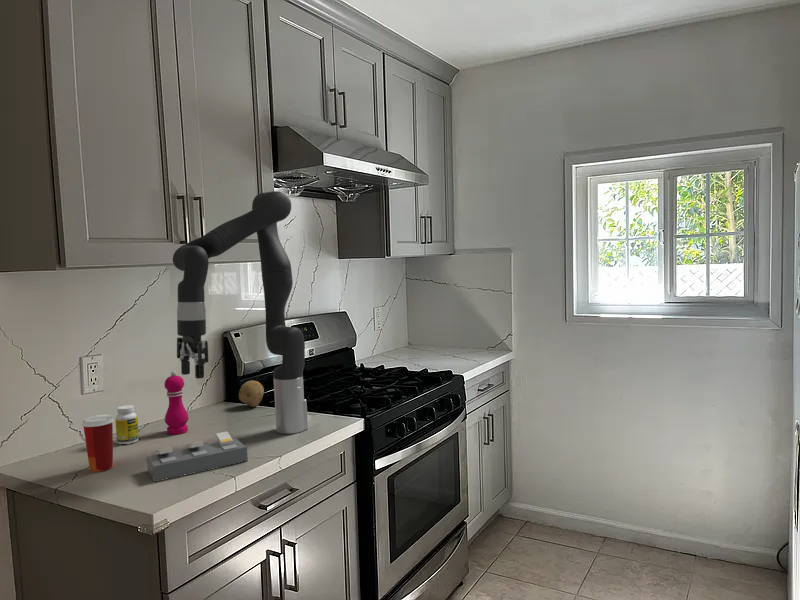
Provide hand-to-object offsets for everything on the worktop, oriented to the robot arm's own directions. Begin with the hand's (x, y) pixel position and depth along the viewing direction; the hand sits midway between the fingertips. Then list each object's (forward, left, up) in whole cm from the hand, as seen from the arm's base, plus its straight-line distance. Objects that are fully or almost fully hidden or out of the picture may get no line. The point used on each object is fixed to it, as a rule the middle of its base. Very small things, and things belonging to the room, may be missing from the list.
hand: (192, 376), depth 170 cm
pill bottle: (+14, -29, -23) cm, 40 cm away
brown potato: (-31, -45, -23) cm, 59 cm away
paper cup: (+24, -8, -23) cm, 34 cm away
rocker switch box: (+2, +7, -23) cm, 24 cm away
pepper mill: (-1, -30, -23) cm, 38 cm away
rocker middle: (+2, +5, -18) cm, 19 cm away
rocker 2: (-6, +5, -18) cm, 20 cm away
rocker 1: (+10, +5, -18) cm, 21 cm away
